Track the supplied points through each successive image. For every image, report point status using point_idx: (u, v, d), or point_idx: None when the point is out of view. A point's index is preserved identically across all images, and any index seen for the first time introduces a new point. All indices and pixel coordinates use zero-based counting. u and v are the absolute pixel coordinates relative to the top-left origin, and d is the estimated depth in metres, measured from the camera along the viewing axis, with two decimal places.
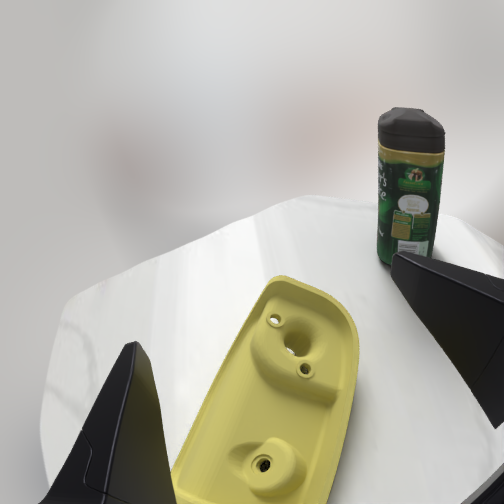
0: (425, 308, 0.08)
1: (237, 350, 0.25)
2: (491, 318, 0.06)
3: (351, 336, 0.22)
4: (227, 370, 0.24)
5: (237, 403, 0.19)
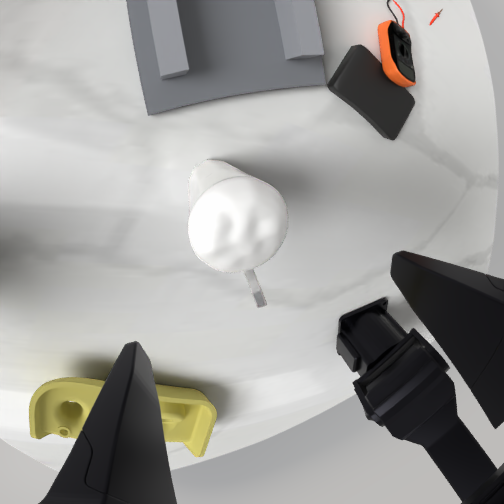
0: (425, 308, 0.08)
1: None
2: (491, 318, 0.06)
3: (62, 386, 0.20)
4: None
5: None
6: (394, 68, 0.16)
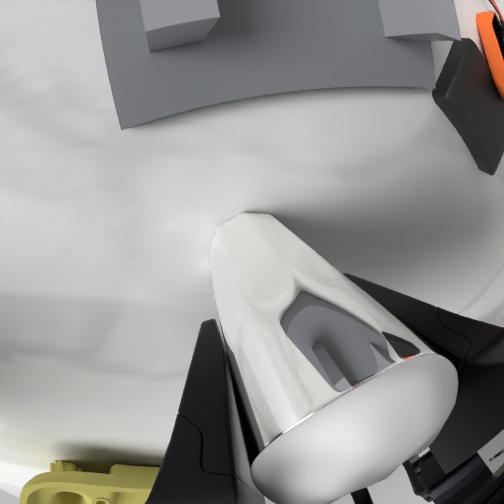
0: None
1: None
2: None
3: (57, 485, 0.11)
4: None
5: None
6: None
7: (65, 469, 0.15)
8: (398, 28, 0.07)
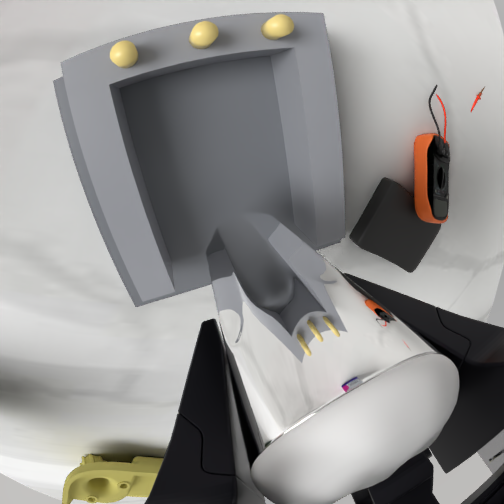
0: None
1: None
2: None
3: (97, 473, 0.19)
4: None
5: (144, 496, 0.24)
6: (428, 213, 0.16)
7: (94, 461, 0.23)
8: (300, 226, 0.14)
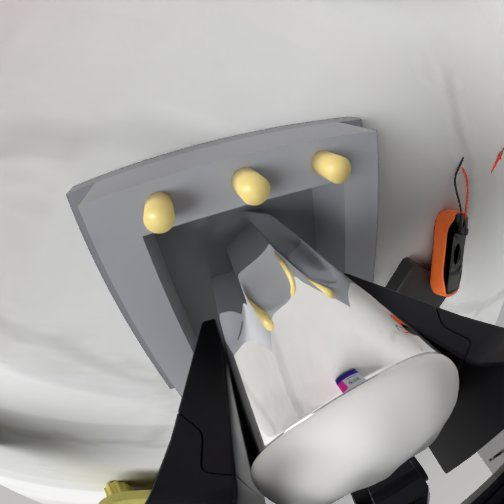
0: None
1: None
2: None
3: (130, 501, 0.19)
4: None
5: None
6: (442, 290, 0.17)
7: (119, 486, 0.23)
8: None
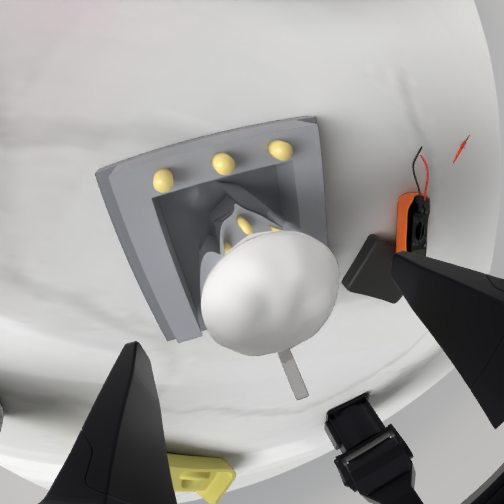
0: (425, 308, 0.08)
1: None
2: (491, 318, 0.06)
3: None
4: None
5: None
6: None
7: None
8: None
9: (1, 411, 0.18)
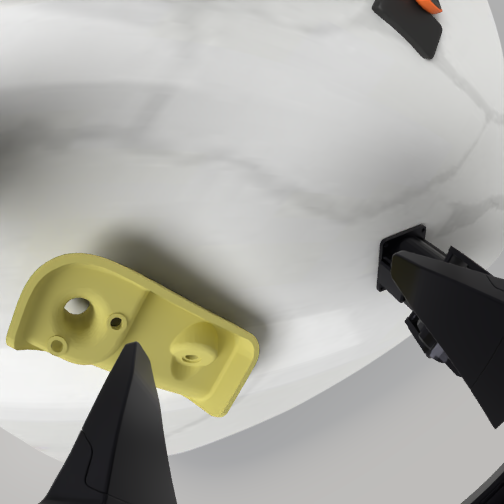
0: (425, 308, 0.08)
1: None
2: (491, 318, 0.06)
3: (91, 264, 0.16)
4: None
5: None
6: None
7: None
8: None
9: None
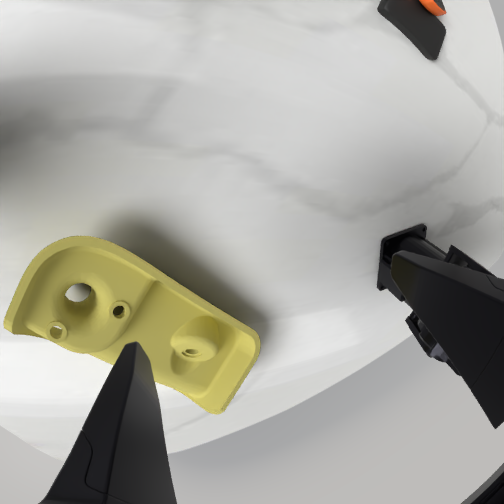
0: (425, 308, 0.08)
1: None
2: (491, 318, 0.06)
3: (98, 248, 0.16)
4: None
5: None
6: None
7: None
8: None
9: None
